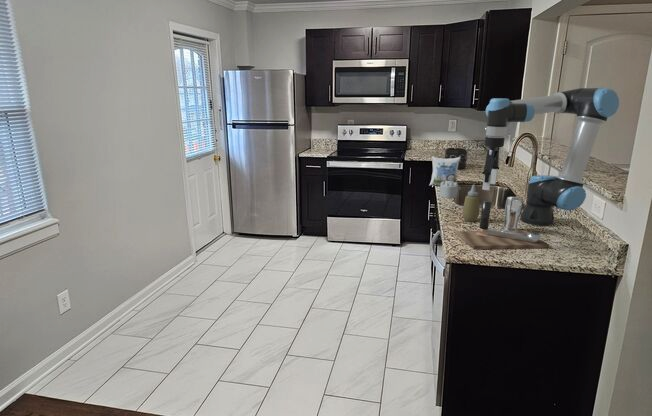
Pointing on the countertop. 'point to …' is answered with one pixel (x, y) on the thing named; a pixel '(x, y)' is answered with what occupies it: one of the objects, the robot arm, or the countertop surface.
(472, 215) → the squeeze bottle
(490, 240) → the lever board
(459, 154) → the dark rounded-top box
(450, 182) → the lumpy-topped squat cylinder
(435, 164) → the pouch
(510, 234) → the lever
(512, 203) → the beer glass
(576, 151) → the robot arm
